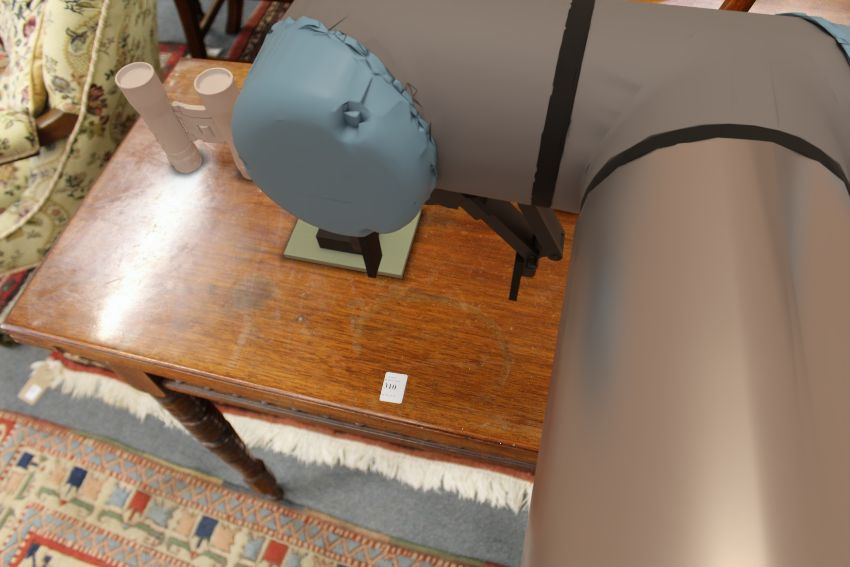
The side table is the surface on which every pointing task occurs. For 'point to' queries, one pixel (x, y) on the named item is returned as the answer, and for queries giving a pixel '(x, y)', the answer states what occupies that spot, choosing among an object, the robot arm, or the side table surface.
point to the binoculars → (184, 113)
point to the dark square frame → (335, 242)
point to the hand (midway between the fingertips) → (443, 277)
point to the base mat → (392, 248)
